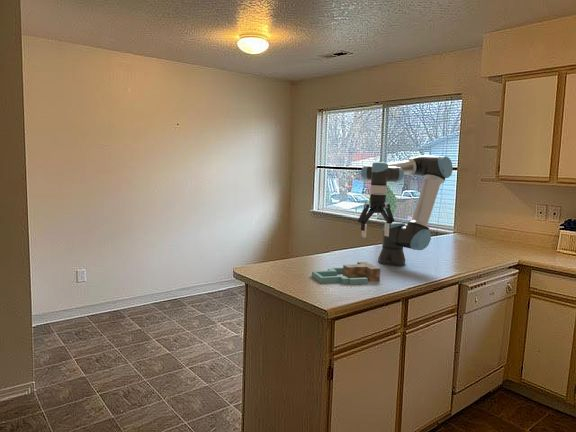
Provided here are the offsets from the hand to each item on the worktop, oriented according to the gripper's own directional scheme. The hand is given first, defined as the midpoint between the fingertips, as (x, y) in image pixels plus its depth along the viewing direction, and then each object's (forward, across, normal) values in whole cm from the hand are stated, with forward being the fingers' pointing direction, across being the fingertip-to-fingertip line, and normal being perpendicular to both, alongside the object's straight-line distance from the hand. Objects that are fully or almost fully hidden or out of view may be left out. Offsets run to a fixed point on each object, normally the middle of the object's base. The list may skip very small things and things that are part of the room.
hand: (375, 236), depth 213 cm
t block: (+20, +9, +1) cm, 22 cm away
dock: (+20, +21, 0) cm, 29 cm away
